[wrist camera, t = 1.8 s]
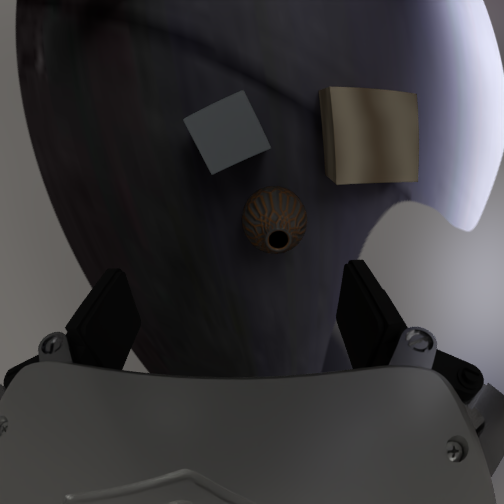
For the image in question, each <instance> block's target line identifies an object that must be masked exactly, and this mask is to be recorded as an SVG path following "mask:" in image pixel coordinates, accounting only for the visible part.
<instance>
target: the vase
mask: <svg viewBox="0 0 504 504" xmlns="http://www.w3.org/2000/svg"><path fill="white" fill-rule="evenodd" d="M242 226H243V229H244V232H245V235H246V236H247V238H248V240H249V241H250V242H251V243H252V244H253V245H254V246H255V247H256V248H258V249H259V250H261V251H263V252H266V253H271V254H279V253H284V252H287V251H289V250H291V249H293V248H294V247H295V246H296V245H297V244H298V243H299V242H300V241H301V239H302V238H303V236H304V234H305V231H306V226H307V214H306V210H305V208H304V205H303V204H302V202H301V200H300V199H299V198H298V197H297V196H296V195H295V194H294V193H293V192H292V191H290V190H288V189H286V188H283V187H278V186H269V187H265V188H262V189H260V190H258V191H256V192H255V193H254V194H253V195H252V196H251V197H250V198H249V199H248V200H247V202H246V204H245V206H244V209H243V214H242Z"/></svg>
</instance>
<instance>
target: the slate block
mask: <svg viewBox="0 0 504 504" xmlns="http://www.w3.org/2000/svg"><path fill="white" fill-rule="evenodd" d="M183 120H184V122H185V124H186V126H187V128H188V130H189V132H190V134H191V136H192V138H193V140H194V142H195V144H196V145H197V147H198V149H199V151H200V153H201V155H202V157H203V159H204V161H205V163H206V165H207V167H208V169H209V171H210V172H211V174H212V175H213V174H215V173H217V172H219V171H221V170H223V169H225V168H227V167H230V166H232V165H234V164H236V163H238V162H240V161H243V160H245V159H247V158H249V157H252V156H254V155H256V154H259V153H261V152H263V151H266V150H268V149H270V148H271V147H270V144H269V142H268V140H267V138H266V136H265V134H264V131H263V129H262V127H261V125H260V123H259V121H258V119H257V117H256V115H255V113H254V111H253V109H252V107H251V104H250V102H249V100H248V98H247V96H246V94H245V92H244V91H243V90H242V91H240V92H237V93H235V94H233V95H231V96H229V97H226V98H224V99H222V100H220V101H218V102H216V103H214V104H212V105H210V106H208V107H206V108H204V109H202V110H200V111H198V112H196V113H194V114H192V115H190V116H188V117H186V118H185V119H183Z"/></svg>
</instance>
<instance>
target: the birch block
mask: <svg viewBox="0 0 504 504" xmlns="http://www.w3.org/2000/svg"><path fill="white" fill-rule="evenodd" d="M319 99H320V109H321V120H322V131H323V145H324V161H325V175H326V176H327V177H328V178H329V179H331V180H332V181H333V182H334V183H335V184H336V185H341V184H360V183H385V182H418V166H419V125H418V105H417V94H414V93H407V92H400V91H391V90H382V89H370V88H353V87H328V88H325V89H322V90H319Z"/></svg>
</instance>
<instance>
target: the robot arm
mask: <svg viewBox="0 0 504 504" xmlns="http://www.w3.org/2000/svg"><path fill="white" fill-rule="evenodd" d="M336 320H337V324H338V326H339V329H340V332H341V335H342V338H343V341H344V343H345V347H346V350H347V352H348V355H349V358H350V361H351V365H352V368H353V369H350V370H342V371H334V372H323V373H313V374H301V375H287V376H268V377H196V376H177V375H163V374H151V373H141V372H132V371H124V370H122V369H123V366H124V364H125V361H126V359H127V356H128V354H129V352H130V349H131V347H132V345H133V342H134V340H135V337H136V335H137V333H138V330H139V328H140V326H141V319H140V316H139V313H138V311H137V308H136V305H135V302H134V299H133V296H132V293H131V290H130V287H129V284H128V280H127V277H126V274H125V272H122V270H121V269H119V268H117V269H107V270H106V272H105V273H104V274H103V276H102V277H101V278H100V279H99V281H98V282H97V283H96V285H95V286H94V287H93V289H92V290H91V291H90V293H89V294H88V296H87V297H86V298H85V300H84V301H83V302H82V304H81V305H80V307H79V308H78V309H77V311H76V312H75V314H74V315H73V317H72V318H71V319H70V321H69V322H68V324H67V325H66V327H65V328H66V330H67V334H66V335H65V334H63V333H61V332H54V333H51V334H49V335H47V336H46V337H45V338H43V340H42V341H41V342H40V344H39V348H38V351H39V355H37V356H35V357H33V358H31V359H29V360H27V361H25V362H23V363H21V364H19V365H17V366H15V367H13V368H11V369H10V370H8V372H7V373H6V375H5V378H4V386H2V385H1V384H0V504H496V499H495V494H494V489H493V485H492V480H491V477H492V475H493V473H494V472H495V470H496V468H497V467H498V465H499V463H500V461H501V460H502V458H503V456H504V395H503V394H502V393H501V392H499V391H498V390H497V389H495V388H494V387H493V386H492V385H490V384H489V383H488V384H487V385H485V384H484V378H483V375H482V373H481V371H480V370H479V369H478V368H477V367H476V366H474V365H472V364H470V363H468V362H466V361H463V360H461V359H459V358H456V357H454V356H452V355H449V354H447V353H445V352H442V351H440V350H438V349H437V341H436V338H435V336H434V335H433V334H432V333H431V332H430V331H428V330H426V329H424V328H421V327H410V328H408V327H407V326H406V324H405V322H404V321H403V319H402V318H401V316H400V314H399V313H398V311H397V309H396V307H395V306H394V304H393V303H392V301H391V299H390V298H389V296H388V295H387V293H386V292H385V290H383V289H382V288H381V286H380V284H379V283H378V281H377V280H376V278H375V277H374V275H373V274H372V272H371V271H370V269H369V268H368V266H367V265H366V263H365V262H364V260H350V261H349V263H348V264H345V266H344V271H343V278H342V284H341V291H340V297H339V302H338V308H337V313H336Z"/></svg>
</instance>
